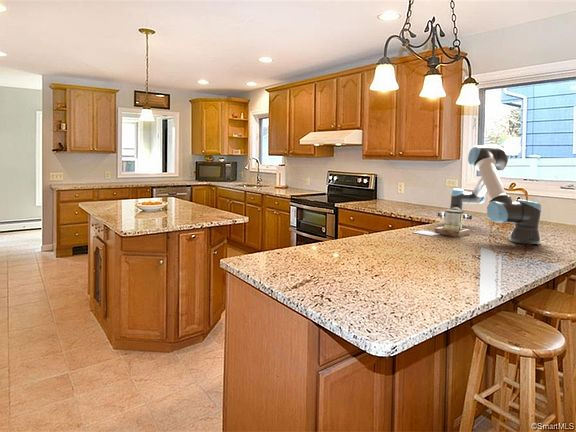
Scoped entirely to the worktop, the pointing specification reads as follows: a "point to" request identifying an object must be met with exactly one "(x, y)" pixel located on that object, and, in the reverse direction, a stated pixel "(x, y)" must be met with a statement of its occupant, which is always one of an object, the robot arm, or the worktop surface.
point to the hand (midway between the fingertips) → (454, 217)
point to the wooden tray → (452, 232)
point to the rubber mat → (426, 233)
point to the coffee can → (453, 220)
